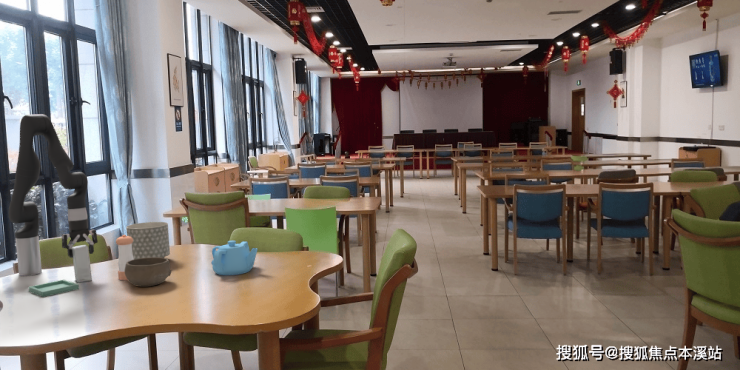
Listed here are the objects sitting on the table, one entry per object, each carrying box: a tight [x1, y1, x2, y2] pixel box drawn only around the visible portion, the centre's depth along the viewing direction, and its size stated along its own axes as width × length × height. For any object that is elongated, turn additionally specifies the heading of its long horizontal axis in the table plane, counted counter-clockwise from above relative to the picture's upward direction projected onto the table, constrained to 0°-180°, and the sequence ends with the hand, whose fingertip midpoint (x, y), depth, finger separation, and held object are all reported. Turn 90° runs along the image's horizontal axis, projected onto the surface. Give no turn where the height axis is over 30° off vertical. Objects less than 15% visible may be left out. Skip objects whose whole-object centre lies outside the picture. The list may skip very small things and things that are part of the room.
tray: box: [28, 279, 80, 298], centre depth 250 cm, size 14×14×2 cm
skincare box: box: [72, 244, 93, 283], centre depth 265 cm, size 8×6×15 cm
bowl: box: [125, 257, 172, 288], centre depth 254 cm, size 17×18×10 cm
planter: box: [125, 221, 171, 259], centre depth 297 cm, size 19×19×18 cm
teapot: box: [210, 240, 258, 276], centre depth 272 cm, size 19×19×14 cm
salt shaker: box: [115, 234, 134, 281], centre depth 265 cm, size 7×7×19 cm
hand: (81, 255), depth 265 cm, fingers open, 8 cm apart
